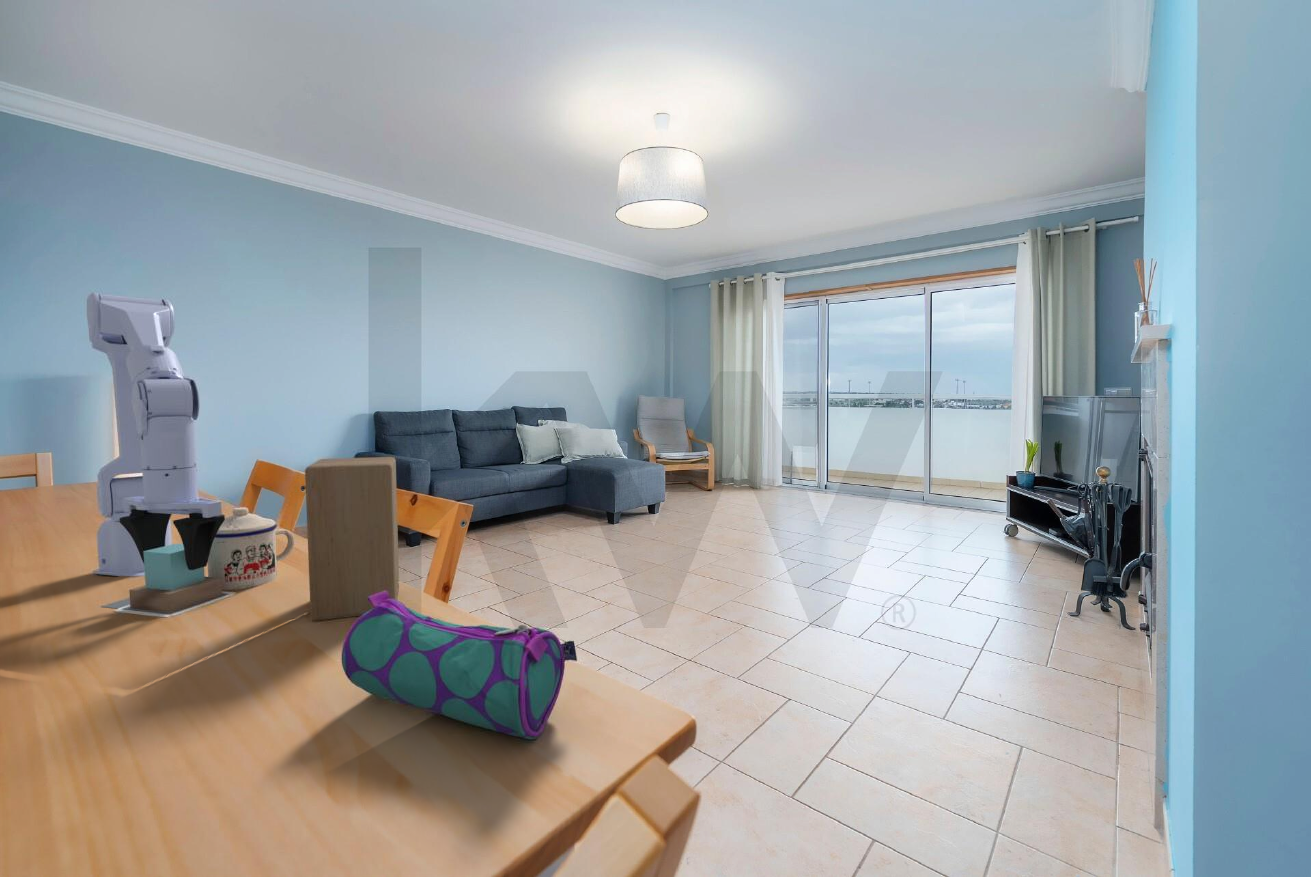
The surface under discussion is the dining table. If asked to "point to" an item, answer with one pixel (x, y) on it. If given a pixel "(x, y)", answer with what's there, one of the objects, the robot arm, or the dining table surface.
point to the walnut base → (175, 596)
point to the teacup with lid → (246, 551)
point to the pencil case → (457, 667)
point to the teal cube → (169, 568)
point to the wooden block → (351, 534)
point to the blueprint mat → (125, 607)
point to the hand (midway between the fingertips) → (175, 565)
